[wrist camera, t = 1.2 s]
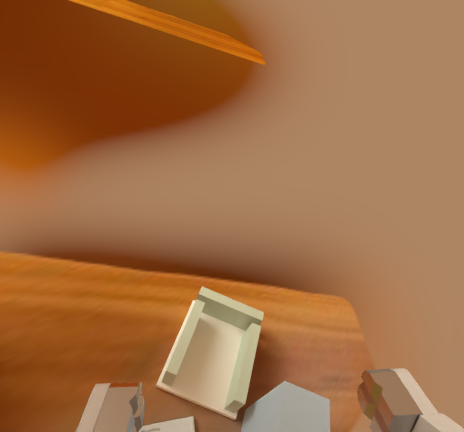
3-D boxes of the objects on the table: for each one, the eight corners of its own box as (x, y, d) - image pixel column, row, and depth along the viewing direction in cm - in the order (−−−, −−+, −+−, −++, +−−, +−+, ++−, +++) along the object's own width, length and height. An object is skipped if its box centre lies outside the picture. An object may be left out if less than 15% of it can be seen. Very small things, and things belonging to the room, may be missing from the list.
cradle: (155, 386, 40) (160, 373, 36) (192, 302, 50) (199, 285, 46) (234, 420, 39) (247, 410, 35) (254, 329, 50) (266, 313, 46)
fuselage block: (235, 457, 37) (277, 439, 27) (245, 409, 41) (284, 380, 31) (274, 473, 37) (329, 462, 27) (280, 424, 41) (330, 399, 31)
